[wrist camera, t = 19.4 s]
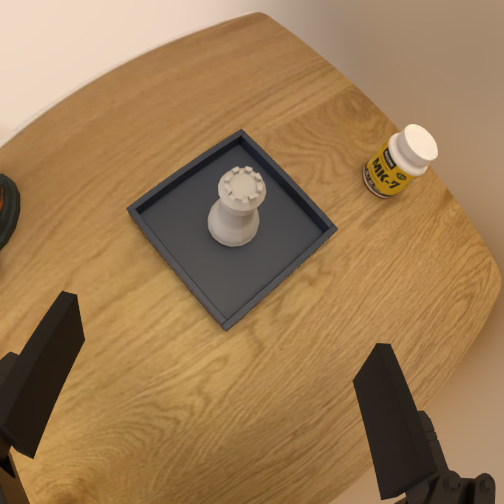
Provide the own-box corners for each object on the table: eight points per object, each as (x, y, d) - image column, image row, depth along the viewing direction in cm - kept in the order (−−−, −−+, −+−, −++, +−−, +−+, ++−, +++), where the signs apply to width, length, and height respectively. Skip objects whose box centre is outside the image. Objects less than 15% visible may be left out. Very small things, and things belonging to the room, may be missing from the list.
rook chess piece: (264, 240, 28) (287, 205, 20) (215, 254, 27) (220, 222, 19) (248, 195, 29) (264, 148, 21) (201, 207, 28) (201, 161, 20)
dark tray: (329, 235, 30) (338, 228, 28) (225, 331, 26) (226, 330, 24) (239, 140, 31) (241, 128, 29) (130, 217, 27) (126, 208, 25)
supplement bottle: (353, 173, 32) (391, 130, 24) (377, 154, 33) (415, 113, 25) (382, 207, 32) (428, 172, 24) (404, 186, 33) (448, 151, 25)
